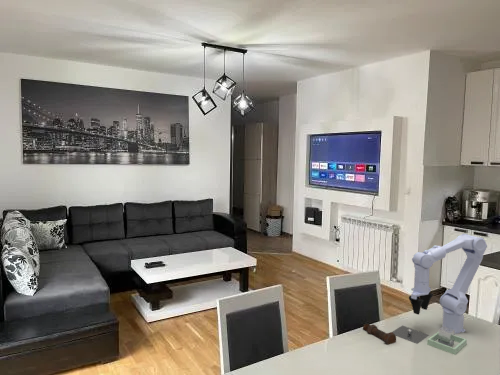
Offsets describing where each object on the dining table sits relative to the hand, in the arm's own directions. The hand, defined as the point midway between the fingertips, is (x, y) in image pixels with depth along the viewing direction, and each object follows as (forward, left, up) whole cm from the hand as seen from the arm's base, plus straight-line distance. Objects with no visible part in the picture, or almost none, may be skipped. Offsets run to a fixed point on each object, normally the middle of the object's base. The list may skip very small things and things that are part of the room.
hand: (420, 311), depth 158 cm
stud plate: (+5, -2, -10) cm, 12 cm away
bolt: (+17, -10, -11) cm, 22 cm away
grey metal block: (+2, +12, -10) cm, 15 cm away
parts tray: (+2, +12, -10) cm, 16 cm away
